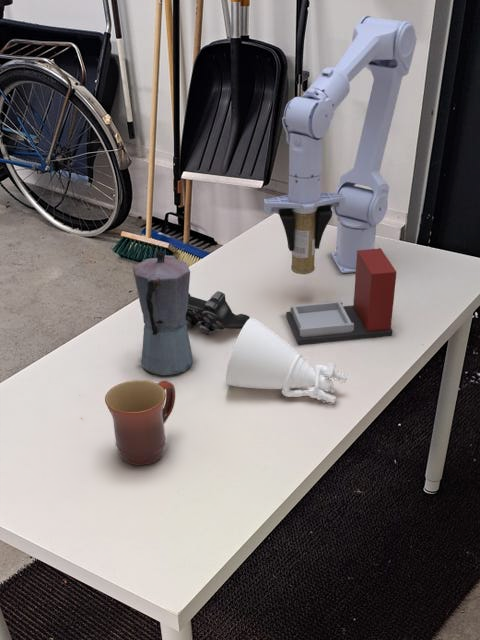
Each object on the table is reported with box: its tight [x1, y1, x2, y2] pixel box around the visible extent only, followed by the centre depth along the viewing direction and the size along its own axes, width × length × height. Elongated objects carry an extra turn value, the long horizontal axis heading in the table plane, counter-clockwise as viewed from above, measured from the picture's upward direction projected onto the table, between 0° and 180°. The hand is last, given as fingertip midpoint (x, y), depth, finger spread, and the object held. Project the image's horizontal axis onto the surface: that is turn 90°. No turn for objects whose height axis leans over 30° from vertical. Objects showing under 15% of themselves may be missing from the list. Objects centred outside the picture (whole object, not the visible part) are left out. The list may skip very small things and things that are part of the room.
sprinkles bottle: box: [290, 207, 317, 275], centre depth 157 cm, size 5×5×13 cm
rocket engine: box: [225, 317, 349, 405], centre depth 139 cm, size 12×12×18 cm
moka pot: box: [132, 250, 194, 376], centre depth 142 cm, size 10×15×20 cm, turn 174°
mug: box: [104, 379, 176, 466], centre depth 127 cm, size 12×9×10 cm
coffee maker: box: [285, 248, 397, 346], centre depth 154 cm, size 11×17×12 cm, turn 99°
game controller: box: [185, 290, 251, 335], centre depth 156 cm, size 16×7×10 cm, turn 55°
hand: (303, 247), depth 159 cm, fingers closed on sprinkles bottle, 4 cm apart
